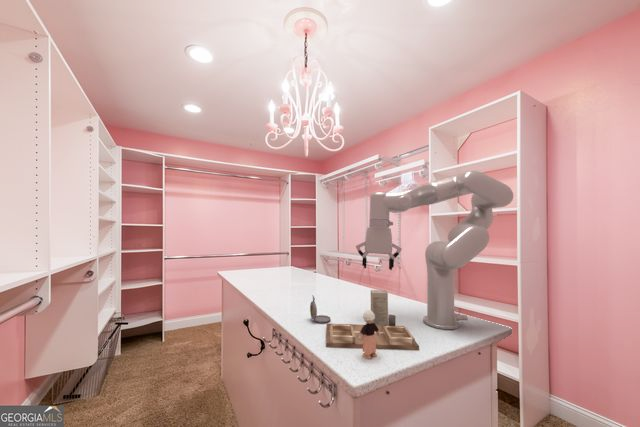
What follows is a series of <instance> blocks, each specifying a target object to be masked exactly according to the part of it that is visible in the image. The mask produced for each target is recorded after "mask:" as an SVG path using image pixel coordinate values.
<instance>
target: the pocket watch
mask: <svg viewBox="0 0 640 427" xmlns="http://www.w3.org/2000/svg"><path fill="white" fill-rule="evenodd" d="M315 301H316V299H315V296H314V295H313V294H312V301H311V302H310V304H309V306H310V308H309V312H310V317H311V319H312V320H313V321H314V322H316V323H320V324H324V323H326V324H327V323H329V322H331V317H330V316H328V315H323V314H320V315H318V309H317V304H316V302H315Z"/></svg>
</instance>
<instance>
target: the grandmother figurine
mask: <svg viewBox="0 0 640 427" xmlns="http://www.w3.org/2000/svg"><path fill="white" fill-rule="evenodd" d="M363 319H364V322H365V323H366V324H363V325H364V326H363V327H362V329H361V331H360V336H359V340H362V337H363V335H364V342H363V348H362V352H363V353H362V355H361V356H362V358H365V359H367V360H370V359H372V357H374V358H376V357H377V356H378V354H377V353H376V352H377V349H376V343H375V337H374V333H375V332H376V333H377V336H380V333H379V329H378V327H377V326H376V325H375V323H372V322H373V320H374V319H375V315H374V313H373V312H372V311H371V309H370V310H366V311H364V313H363Z"/></svg>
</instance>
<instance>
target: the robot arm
mask: <svg viewBox="0 0 640 427" xmlns="http://www.w3.org/2000/svg"><path fill="white" fill-rule="evenodd" d="M470 194H472V195H471V199H470V200H471V201H470V204H471V209H470V210H471V211H470V213H469V214H468V215H467V216H466V217H464V218H463V219H462V220H461V221H460V222H459V223H457V224H455V226H453V227H452V228H451V229H450V230H449V231H448V234H447V240H448V241H443V240H442V241H441V240H436V241H432V242H430V244H428V245H427V247H426V248H425V252H424V256H425V264H426V273H427V275H426V276H427V277H426V278H427V281H426V282H427V283H426V285H427V286H426V289H427V291H426V293H427V295H426V304H427V305H426V307H427V309H426V311H427V312H426V315H424V316H423V317H422V322H423V323H424V324H426V325H427V326H429V327H431V328H432V327H433V328H436V329H440V330H456V329H458V328H459V327H460V324H459V321H468V320H469V318H468V315H467V314H461V313H456V312H455V275H454V274H455V273H454V270H458V269H461V268H464V266H466V265H467V264H468V263H470V261H472V260H473V259H475V258H476V257H477V256H478V255H479V254H480V253H481V252H482V251H484V250H485V249H486V247H487V246H488V244H489V241H490V233H489V231H488V229H489V228H490V227H491V226H492V224H493V218H494V217H493V214H494V213H493V209H496V208H503V207H504V208H505V207H506V206H509V205H510V204H511V203H512V201H513V199H514V192H513V190H512V188H511V187H510V186H509V185H507V184H506V183H504V182H502V181H500V180H497V179H496V178H494V177H492V176H490V175H487V174H486V173H484V172H481V171H478V170H468V171H465V172H462V173H459V174H455V175H453V176H449V177H446V178H442V179H439V180H435V181H431V182H428V183H426V184H422V185H421V186H418V187H415V188H413V189H410V190H406V191H404V192H402V191H401V192H400V191H399V192H390V193H389V192H388V193H387V192H384V191H382V192H381V191H378V192H373V193H371V194H370V196H369V198H370V199H369V223H368V224H369V225H368V226H369V227H368V226H367V228H366V232H365V239H364V241H363V242H360V243H359V244H357V245H355V247H356V250H357V253H358V254H359V255H360V256H361V257H362V261H361V262H362V263H361V266H362V267H363V268H364V269H366V268H367V259H368V258H367V256H368V255H369V254H375V255H376V254H377V255H388V256H389V258H388V270H390V271H392V270H393V268H394V266H395V265H394V262H395V259H396V258H397V257H398V256H399V254H400V252H401V251H402V250H403V249H402V247H400V246H398V245H396V244H395V243H393V236H392V229H391V228H390V226H394V222H393V221H390V213H393V214H397V213H403V212H407V211H408V210H410V209H414V208H417V207H423V206H429V205H434V204H438V203H441V202H445V201H448V200H452V199H455V198H458V197H459V198H460V197H463V196H466V195H470ZM363 247H364V252H363V251H362V250H361V248H363ZM393 248H394V249H396V251H395V252H394V253H392V252H393Z"/></svg>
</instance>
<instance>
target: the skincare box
mask: <svg viewBox="0 0 640 427" xmlns="http://www.w3.org/2000/svg"><path fill="white" fill-rule="evenodd" d="M388 296H389V293H388V291H387V290H386V289H385V290H383V289H382V290H381V289H380V290H379V289H377V290H376V289H371V290H370V311H372V312H373V313H374V315H375V319H374V320H373V322H372V323H375V325H389V297H388Z"/></svg>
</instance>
